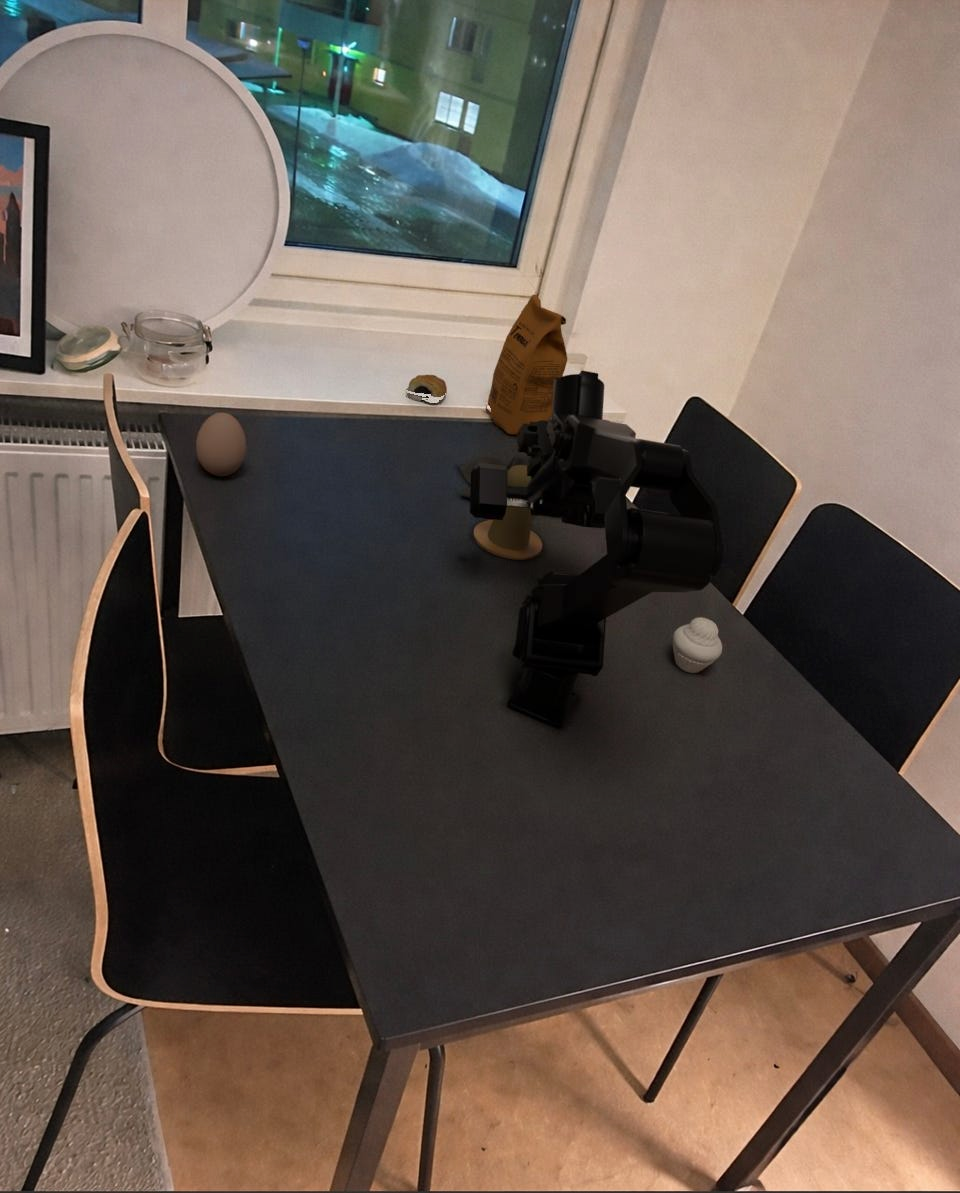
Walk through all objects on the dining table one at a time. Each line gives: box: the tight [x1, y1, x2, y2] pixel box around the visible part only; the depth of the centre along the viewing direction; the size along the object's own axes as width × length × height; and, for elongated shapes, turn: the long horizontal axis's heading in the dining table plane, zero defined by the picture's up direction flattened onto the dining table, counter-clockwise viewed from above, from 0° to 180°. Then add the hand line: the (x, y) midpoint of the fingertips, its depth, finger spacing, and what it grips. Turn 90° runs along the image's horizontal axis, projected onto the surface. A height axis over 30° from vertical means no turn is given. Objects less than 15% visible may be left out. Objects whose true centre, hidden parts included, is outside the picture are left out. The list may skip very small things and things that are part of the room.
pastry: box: [405, 374, 448, 404], centre depth 166 cm, size 9×7×4 cm
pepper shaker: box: [488, 465, 534, 550], centre depth 125 cm, size 6×6×11 cm
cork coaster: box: [472, 519, 543, 561], centre depth 129 cm, size 10×10×1 cm
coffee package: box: [485, 294, 568, 436], centre depth 159 cm, size 10×12×22 cm
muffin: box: [672, 616, 723, 674], centre depth 111 cm, size 6×6×7 cm
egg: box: [195, 412, 247, 477], centre depth 124 cm, size 7×7×9 cm
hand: (529, 515), depth 118 cm, fingers open, 9 cm apart
